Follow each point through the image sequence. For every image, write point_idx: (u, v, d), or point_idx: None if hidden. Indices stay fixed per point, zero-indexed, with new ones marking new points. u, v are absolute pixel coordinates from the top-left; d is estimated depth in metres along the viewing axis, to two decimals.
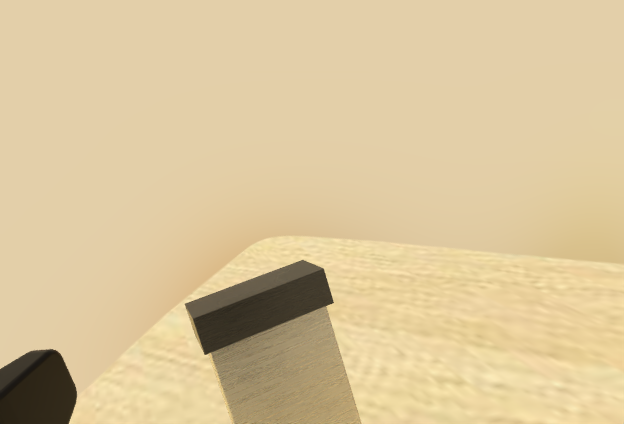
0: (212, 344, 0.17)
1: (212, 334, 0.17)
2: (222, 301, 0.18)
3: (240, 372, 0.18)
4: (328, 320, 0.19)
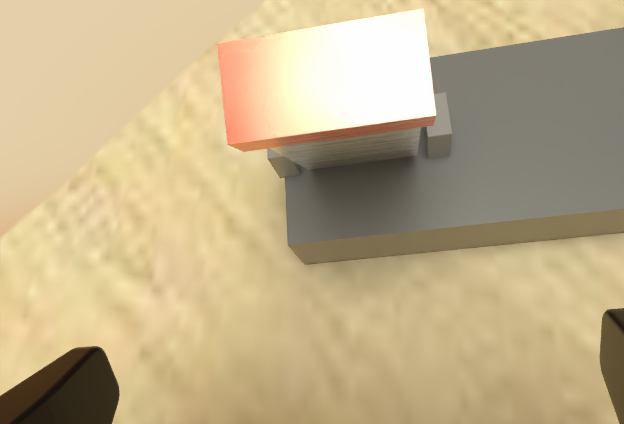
0: None
1: None
2: None
3: None
4: None
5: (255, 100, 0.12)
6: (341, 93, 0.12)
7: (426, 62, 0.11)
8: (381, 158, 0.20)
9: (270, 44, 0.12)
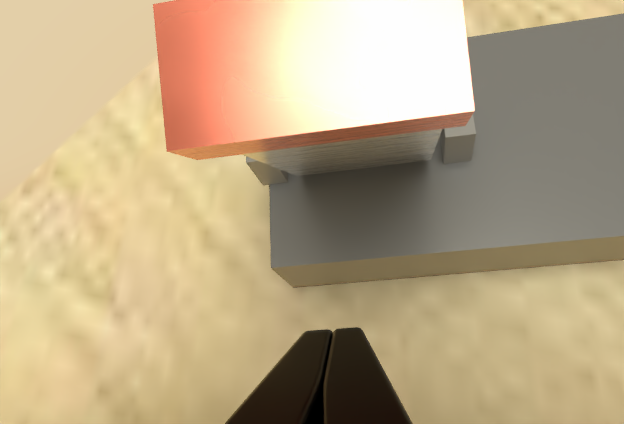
0: None
1: None
2: None
3: None
4: None
5: (207, 87, 0.08)
6: (333, 77, 0.08)
7: (460, 31, 0.08)
8: (386, 163, 0.16)
9: (229, 4, 0.08)
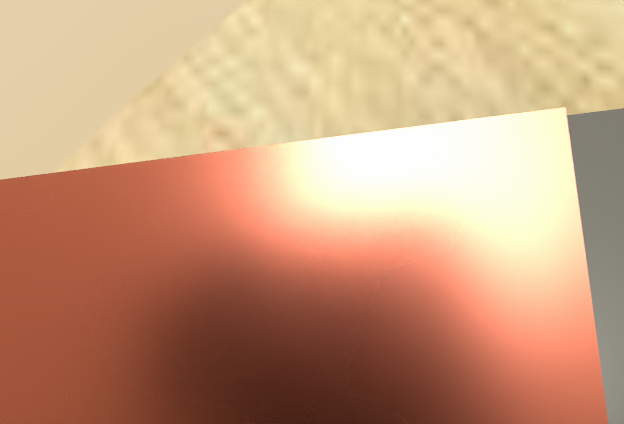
0: None
1: None
2: None
3: None
4: None
5: (38, 364, 0.04)
6: (296, 369, 0.04)
7: (579, 288, 0.03)
8: None
9: (89, 197, 0.04)
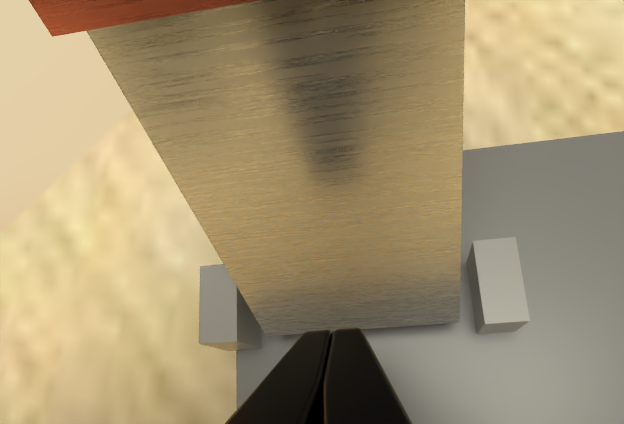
0: None
1: None
2: None
3: None
4: None
5: None
6: None
7: None
8: (394, 315, 0.11)
9: None
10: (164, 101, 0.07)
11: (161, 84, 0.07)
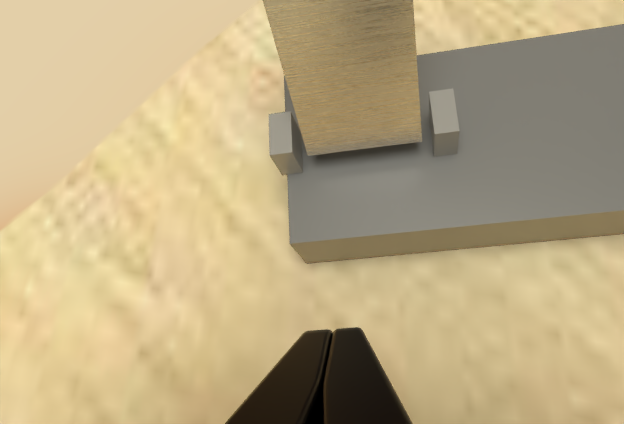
0: None
1: None
2: None
3: None
4: None
5: None
6: None
7: None
8: (384, 135, 0.19)
9: None
10: None
11: None
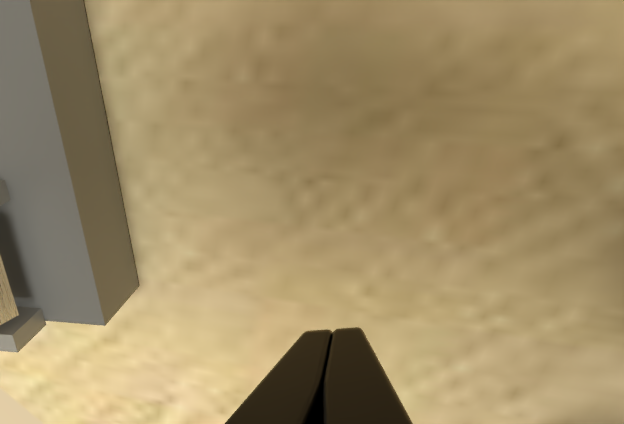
0: None
1: None
2: None
3: None
4: None
5: None
6: None
7: None
8: None
9: None
10: None
11: None
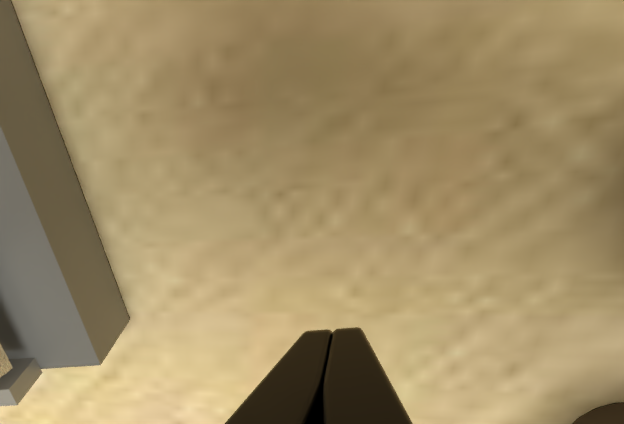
0: None
1: None
2: None
3: None
4: None
5: None
6: None
7: None
8: None
9: None
10: None
11: None
